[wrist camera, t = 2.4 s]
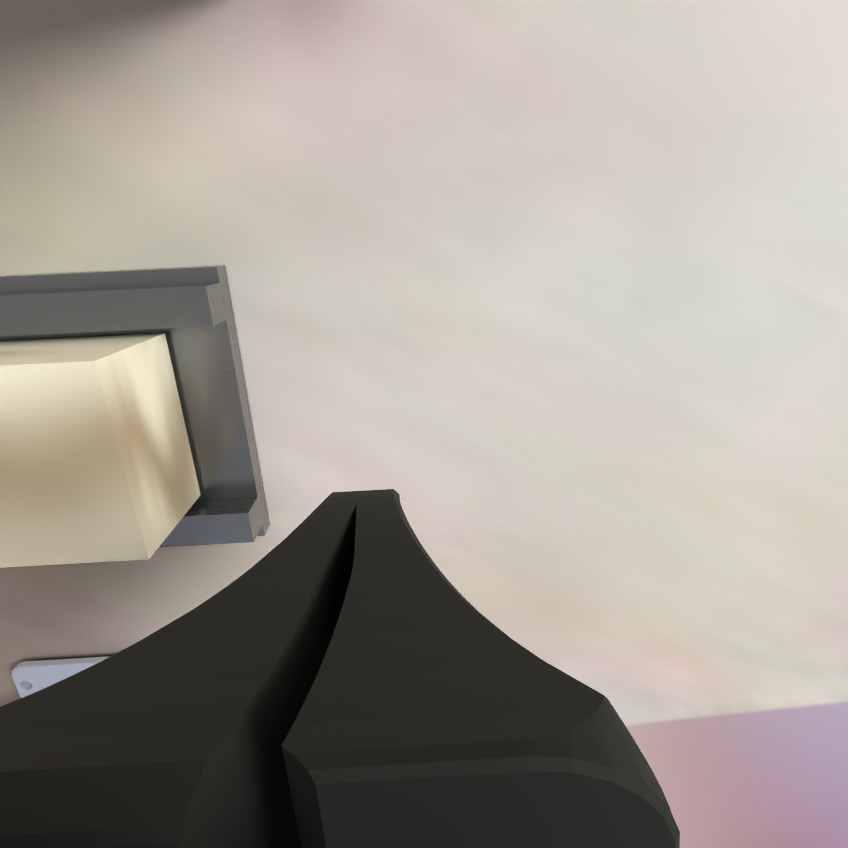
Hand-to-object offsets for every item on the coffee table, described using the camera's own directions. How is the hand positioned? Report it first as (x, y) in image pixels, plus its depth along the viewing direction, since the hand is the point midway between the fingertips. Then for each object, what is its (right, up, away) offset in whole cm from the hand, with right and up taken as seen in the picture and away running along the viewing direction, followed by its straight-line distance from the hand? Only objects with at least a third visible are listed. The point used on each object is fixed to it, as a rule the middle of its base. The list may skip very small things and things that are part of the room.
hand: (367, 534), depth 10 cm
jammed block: (-10, +2, +7) cm, 13 cm away
